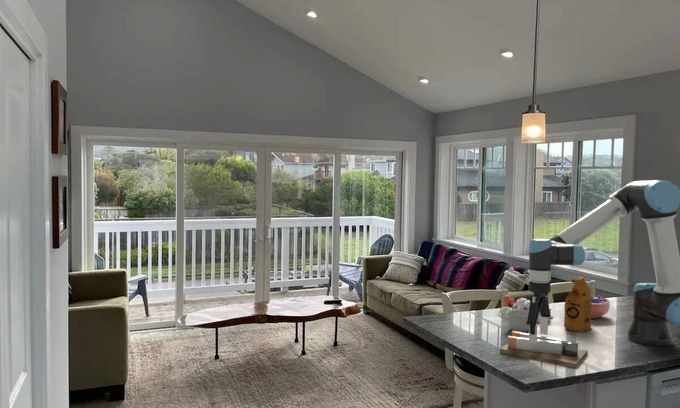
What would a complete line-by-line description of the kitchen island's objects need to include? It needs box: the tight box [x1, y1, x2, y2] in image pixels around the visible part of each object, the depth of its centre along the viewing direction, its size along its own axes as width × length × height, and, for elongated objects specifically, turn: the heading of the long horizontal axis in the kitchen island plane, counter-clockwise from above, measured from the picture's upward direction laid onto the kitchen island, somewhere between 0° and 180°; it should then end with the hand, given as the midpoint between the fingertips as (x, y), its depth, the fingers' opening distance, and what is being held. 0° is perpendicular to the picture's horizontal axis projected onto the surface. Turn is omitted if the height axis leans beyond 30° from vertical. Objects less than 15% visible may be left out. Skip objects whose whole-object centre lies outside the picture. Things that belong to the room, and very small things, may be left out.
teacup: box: [507, 308, 529, 333], centre depth 218 cm, size 14×11×8 cm
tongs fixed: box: [510, 330, 579, 357], centre depth 188 cm, size 24×5×4 cm, turn 53°
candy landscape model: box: [496, 294, 554, 323], centre depth 242 cm, size 25×24×9 cm
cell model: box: [591, 295, 611, 319], centre depth 241 cm, size 17×20×11 cm
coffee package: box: [563, 276, 592, 333], centre depth 221 cm, size 10×12×22 cm
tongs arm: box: [507, 335, 561, 355], centre depth 186 cm, size 18×2×4 cm, turn 67°
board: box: [499, 342, 589, 369], centre depth 188 cm, size 26×18×2 cm
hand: (538, 338), depth 189 cm, fingers open, 13 cm apart
